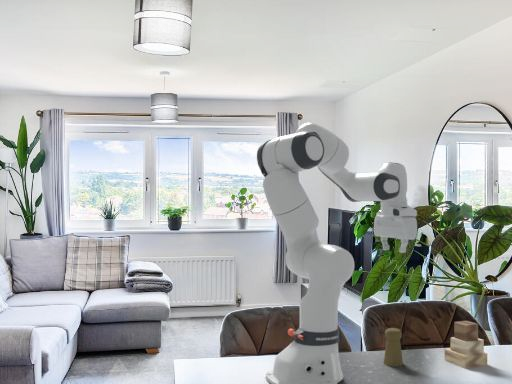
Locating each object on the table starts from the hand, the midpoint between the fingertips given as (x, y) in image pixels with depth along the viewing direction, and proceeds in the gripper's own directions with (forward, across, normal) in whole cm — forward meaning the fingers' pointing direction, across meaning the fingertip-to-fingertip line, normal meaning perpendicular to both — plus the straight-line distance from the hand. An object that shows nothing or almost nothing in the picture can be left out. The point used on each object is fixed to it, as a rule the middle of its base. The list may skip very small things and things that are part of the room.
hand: (394, 251), depth 187 cm
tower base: (+35, +18, +14) cm, 42 cm away
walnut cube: (+27, +18, +14) cm, 35 cm away
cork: (+34, +11, -8) cm, 37 cm away
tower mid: (+31, +18, +14) cm, 38 cm away
